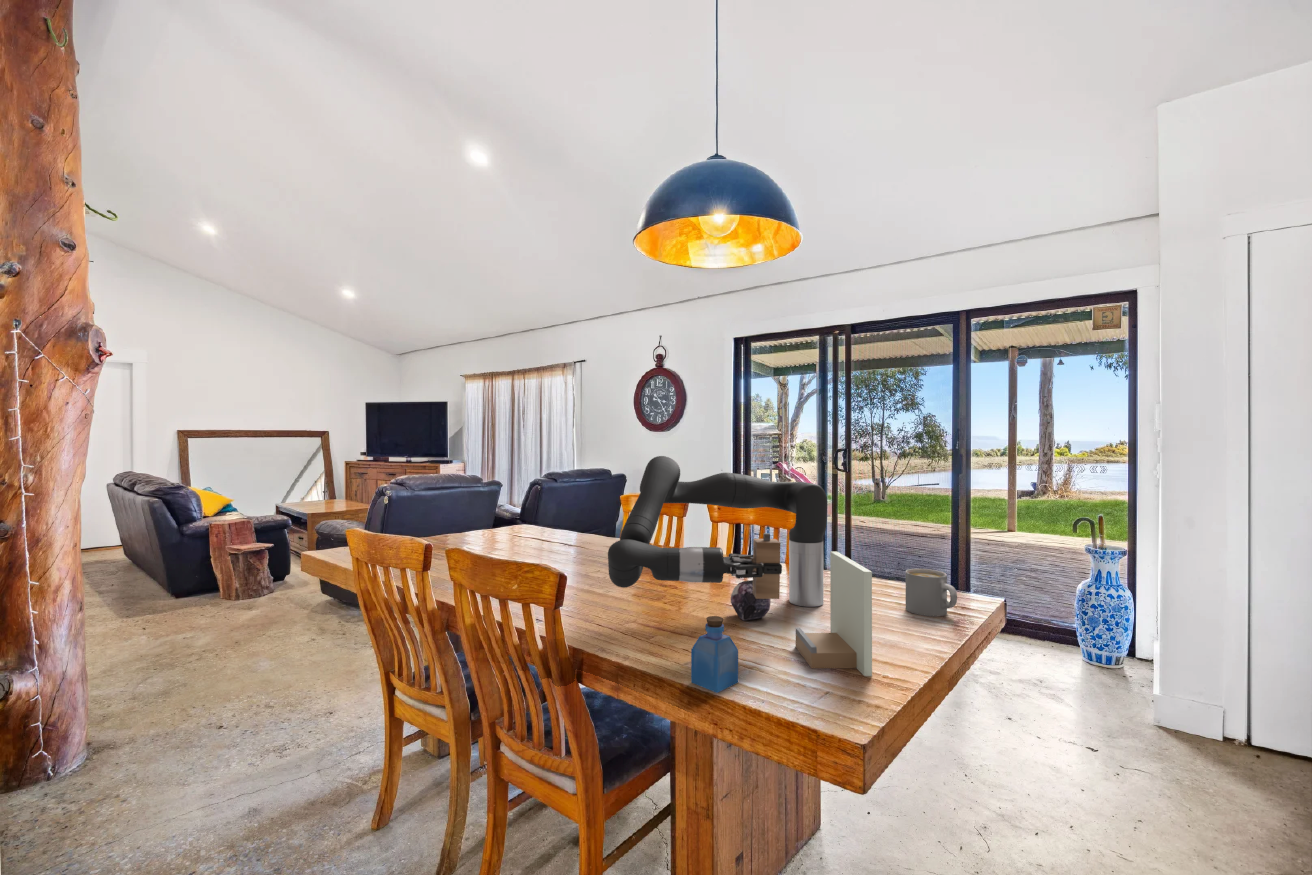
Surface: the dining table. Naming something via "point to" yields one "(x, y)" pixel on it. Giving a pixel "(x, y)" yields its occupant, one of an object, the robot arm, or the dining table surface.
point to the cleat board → (843, 621)
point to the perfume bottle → (714, 658)
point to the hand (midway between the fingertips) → (778, 566)
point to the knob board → (766, 553)
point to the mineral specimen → (748, 602)
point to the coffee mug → (928, 592)
